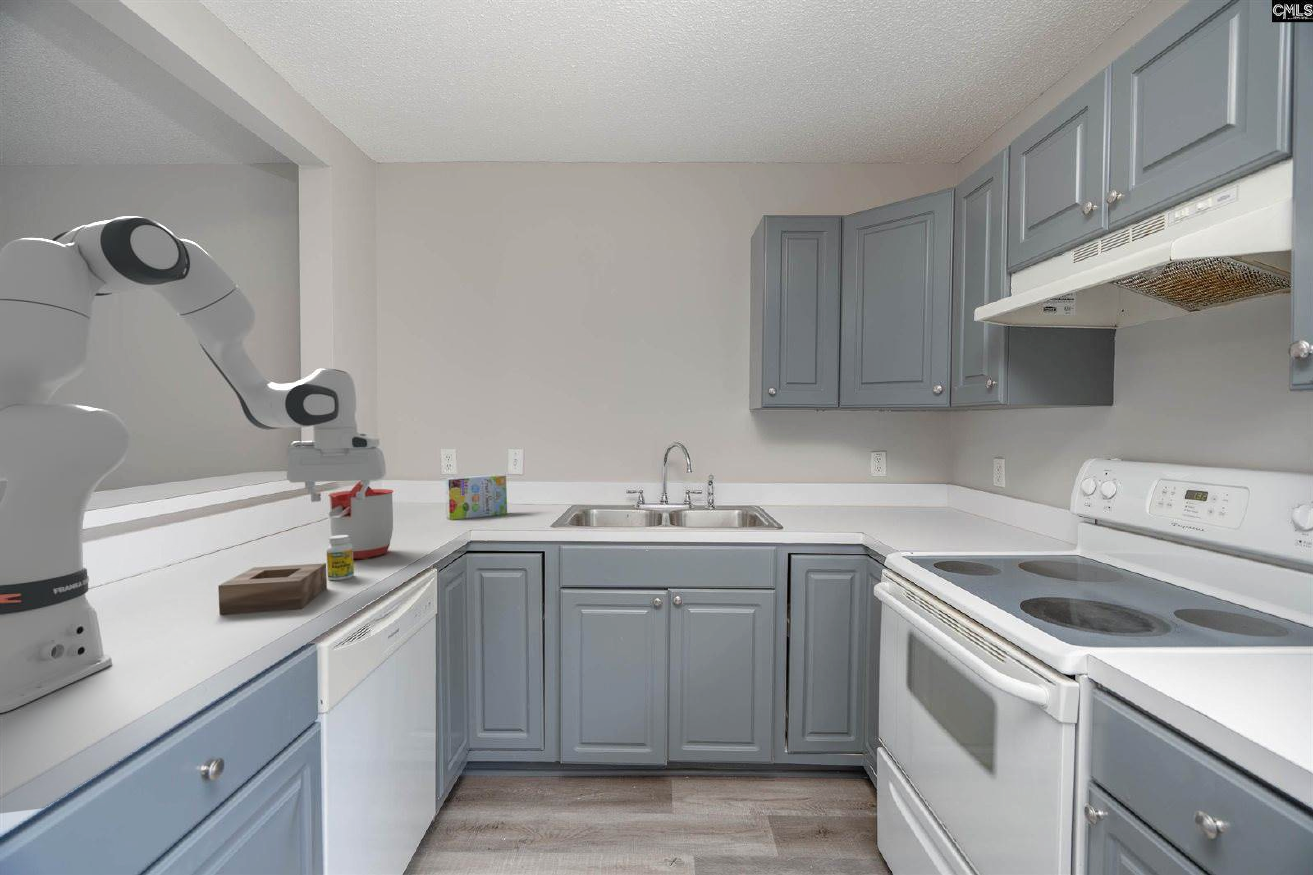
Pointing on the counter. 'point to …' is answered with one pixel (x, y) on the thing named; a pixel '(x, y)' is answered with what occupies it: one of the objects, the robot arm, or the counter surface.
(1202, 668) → the counter surface
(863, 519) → the counter surface
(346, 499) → the citrus juicer
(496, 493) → the snack box
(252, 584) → the socket block
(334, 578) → the supplement bottle
